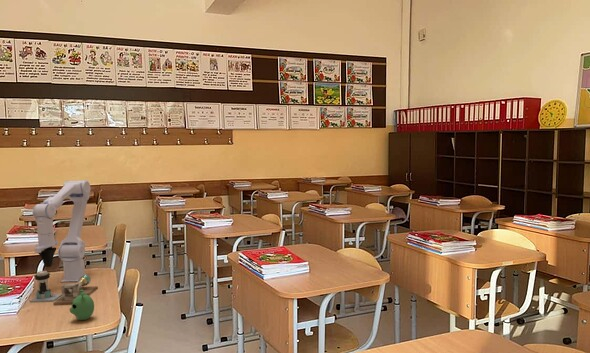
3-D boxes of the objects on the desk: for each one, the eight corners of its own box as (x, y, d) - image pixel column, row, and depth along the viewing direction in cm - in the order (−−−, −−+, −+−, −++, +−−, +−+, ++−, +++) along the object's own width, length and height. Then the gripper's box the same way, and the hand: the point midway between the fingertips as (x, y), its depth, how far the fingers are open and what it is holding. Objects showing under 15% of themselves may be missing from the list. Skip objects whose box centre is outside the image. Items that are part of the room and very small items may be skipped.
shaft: (81, 284, 198) (80, 275, 198) (91, 284, 198) (90, 274, 198) (64, 296, 184) (64, 285, 183) (75, 295, 184) (74, 285, 183)
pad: (39, 296, 191) (39, 294, 191) (62, 295, 191) (62, 293, 191) (30, 302, 184) (30, 300, 184) (53, 301, 184) (53, 299, 184)
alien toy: (69, 318, 165) (67, 290, 165) (94, 314, 169) (92, 286, 168) (70, 325, 159) (68, 295, 158) (96, 320, 163) (94, 291, 162)
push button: (56, 294, 191) (54, 269, 190) (54, 298, 186) (52, 272, 185) (37, 296, 189) (35, 271, 188) (34, 300, 184) (32, 274, 183)
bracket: (75, 289, 199) (74, 274, 198) (97, 288, 199) (96, 274, 198) (53, 305, 180) (52, 289, 179) (77, 304, 180) (76, 288, 179)
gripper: (45, 230, 202) (47, 262, 203) (25, 237, 188) (28, 271, 189) (61, 229, 202) (64, 261, 203) (44, 236, 188) (46, 271, 189)
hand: (48, 266), depth 196 cm, fingers closed
